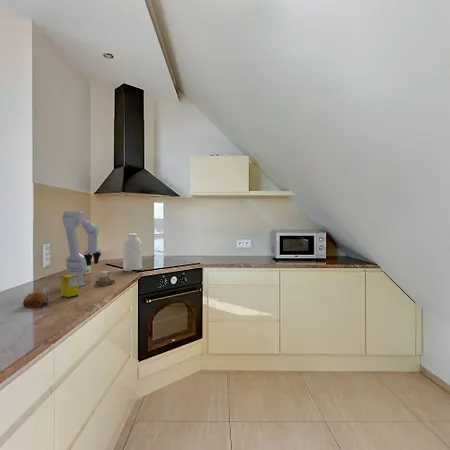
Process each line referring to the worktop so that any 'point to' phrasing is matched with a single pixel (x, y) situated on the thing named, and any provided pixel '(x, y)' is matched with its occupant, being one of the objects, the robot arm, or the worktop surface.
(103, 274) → the maple cube
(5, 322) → the worktop surface
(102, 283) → the walnut block
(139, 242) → the bottle
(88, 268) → the light bulb box
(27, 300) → the bread roll
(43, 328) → the worktop surface
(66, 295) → the supplement box
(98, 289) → the worktop surface
